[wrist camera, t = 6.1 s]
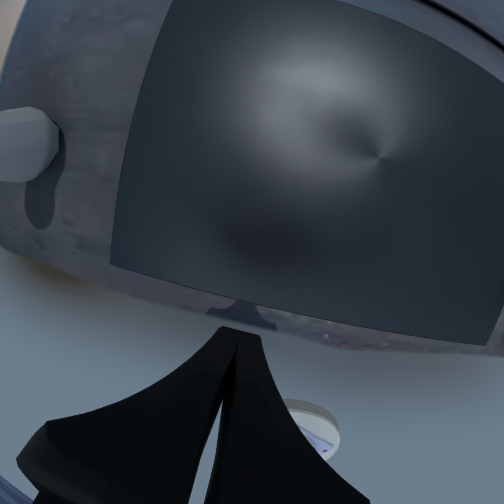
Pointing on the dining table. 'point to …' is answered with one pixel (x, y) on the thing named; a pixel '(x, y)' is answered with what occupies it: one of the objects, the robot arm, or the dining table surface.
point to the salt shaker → (26, 143)
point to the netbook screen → (318, 168)
